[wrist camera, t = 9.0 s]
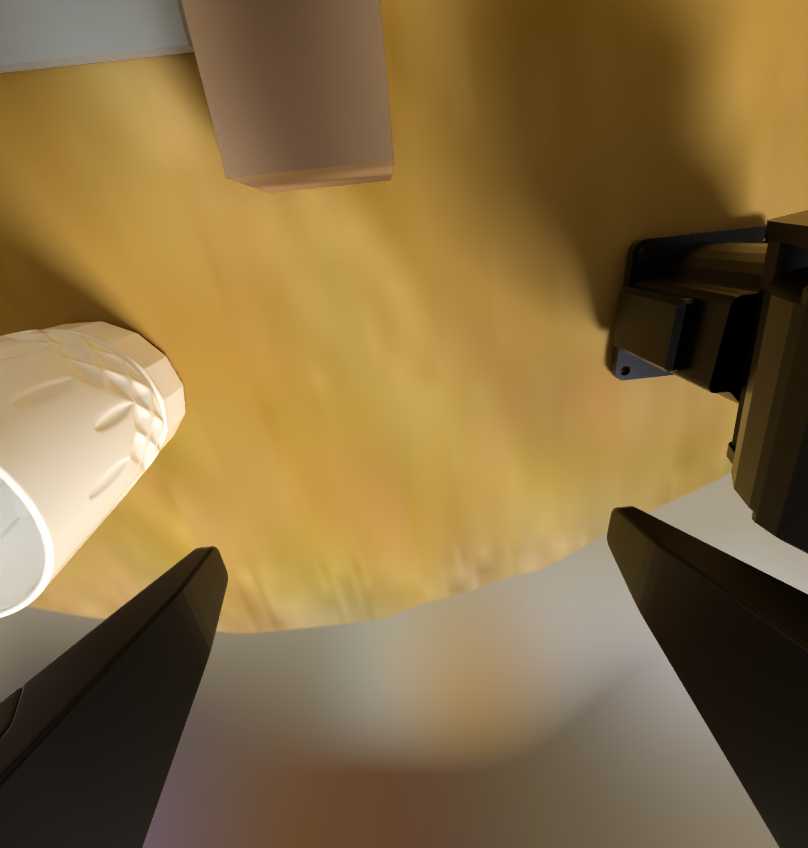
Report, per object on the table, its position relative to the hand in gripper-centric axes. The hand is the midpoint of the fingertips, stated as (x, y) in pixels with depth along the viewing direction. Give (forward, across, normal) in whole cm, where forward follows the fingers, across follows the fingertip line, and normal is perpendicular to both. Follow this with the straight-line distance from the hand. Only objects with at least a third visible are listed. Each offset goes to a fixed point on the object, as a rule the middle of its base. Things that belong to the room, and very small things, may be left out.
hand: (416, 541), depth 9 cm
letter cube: (+12, +2, -11) cm, 16 cm away
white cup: (+12, +14, 0) cm, 19 cm away
